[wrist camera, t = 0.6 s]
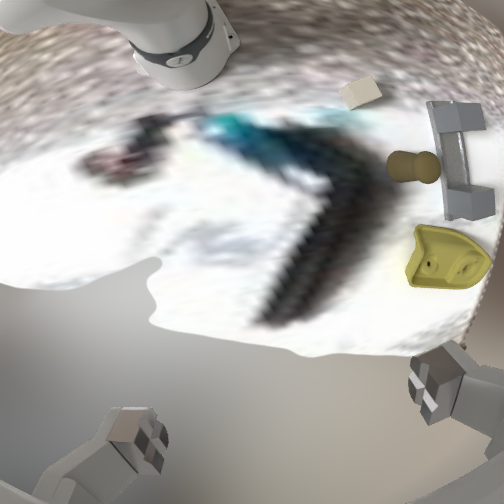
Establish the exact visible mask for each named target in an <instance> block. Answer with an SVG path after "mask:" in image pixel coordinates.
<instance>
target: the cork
mask: <svg viewBox="0 0 504 504" xmlns="http://www.w3.org/2000/svg"><path fill="white" fill-rule="evenodd" d="M387 171H388V174H389V175H390V177H391V178H392V179H393V180H394V181H396V182H401V183H402V182H409V181H416V180H419V181H420V182H422V183H426V184H431V183H434V182H435V181H437V180H438V178H439V177H440V174H441V163H440V161H439V159H438V158H437V157H436V155H434V154H433V153H431V152H427V151H424V152H420V153H418V154H414V153H409V152H404V151H394V152H393V153H391V154H390V156H389V157H388V160H387Z"/></svg>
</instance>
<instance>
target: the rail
mask: <svg viewBox="0 0 504 504" xmlns="http://www.w3.org/2000/svg"><path fill="white" fill-rule="evenodd" d="M451 103H455V101H428V102H426V105H427V109H428V113H429V117H430V121H431V126H432V130H433V135H434V140H435V145H436V151H437V157H438V159H439V161H440V163H441V174H440V177H441V185H442V193H443V203H444V216H445V220H448V221H453V220H454V219H458V218H461V217H458V216H455V215H451V214H448V203H447V193H446V189H450V188H453V187H459V186H464V185H470V180H469V171H468V163H467V157H466V150H465V144H464V139H463V133H462V132H450V133H437V129H436V125H435V120H434V116H433V112H432V108H435V107H439V106H443V105H447V104H451Z"/></svg>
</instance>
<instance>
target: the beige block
mask: <svg viewBox="0 0 504 504" xmlns="http://www.w3.org/2000/svg"><path fill="white" fill-rule="evenodd" d="M339 93H340V94H341V96H342V98H343V100H344V102H345V103H346V105H347V107H348V109H349V111H350V110H352V109H354V108H357V107H359V106H362V105H364V104H366V103H369V102H371V101H373V100H375V99H377V98H379V97H381V96H382V94H381V92H380V90H379V88H378V87H377V85H376V83H375V81H374V79H373V78H372V76H371V75H370V76H367V77H364V78H362V79H359V80H356V81H353V82H351V83H348V84H346V85H345V86H344V87H343V88H342V89H340V90H339Z"/></svg>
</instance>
